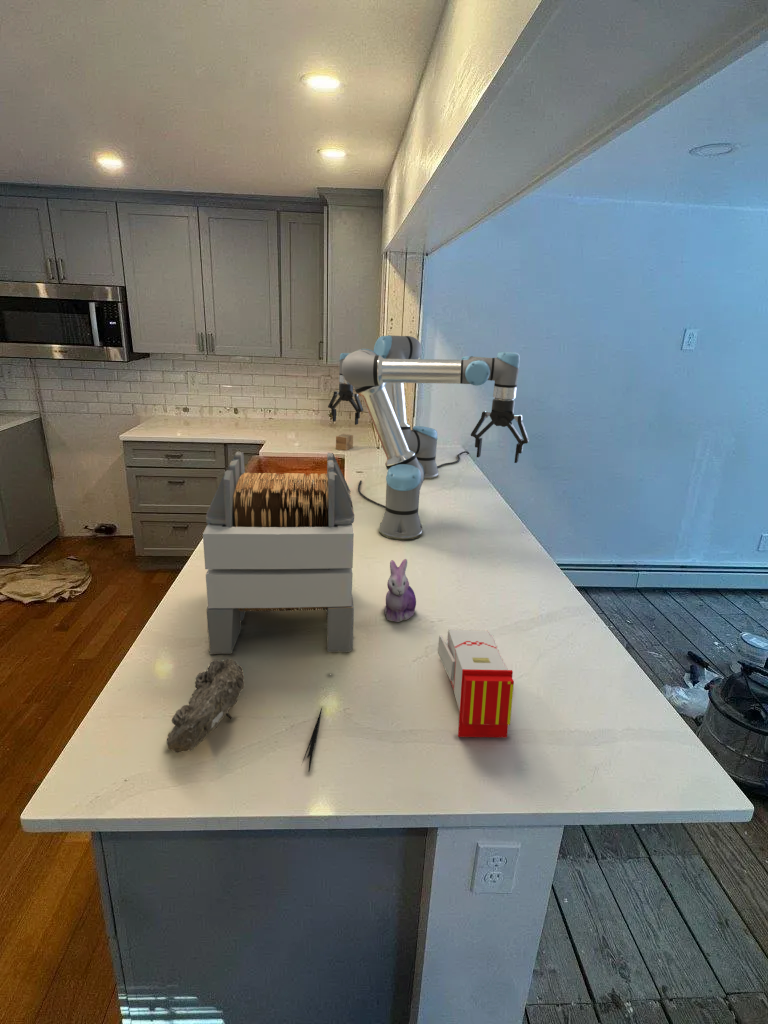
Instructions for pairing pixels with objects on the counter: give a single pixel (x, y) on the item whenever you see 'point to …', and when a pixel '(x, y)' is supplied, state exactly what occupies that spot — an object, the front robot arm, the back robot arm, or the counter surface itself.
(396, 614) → the figurine
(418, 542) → the counter surface
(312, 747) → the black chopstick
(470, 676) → the toy
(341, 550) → the grey record crate
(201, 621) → the counter surface
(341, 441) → the brown cardboard box
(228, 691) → the fossil
